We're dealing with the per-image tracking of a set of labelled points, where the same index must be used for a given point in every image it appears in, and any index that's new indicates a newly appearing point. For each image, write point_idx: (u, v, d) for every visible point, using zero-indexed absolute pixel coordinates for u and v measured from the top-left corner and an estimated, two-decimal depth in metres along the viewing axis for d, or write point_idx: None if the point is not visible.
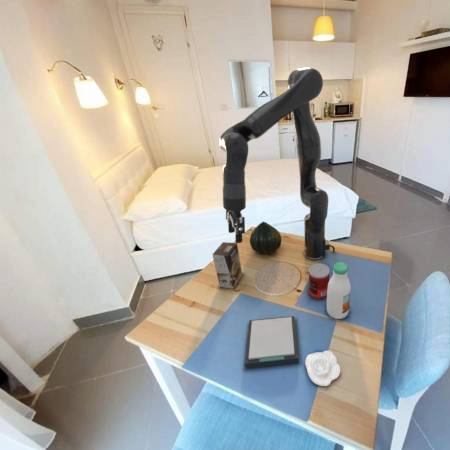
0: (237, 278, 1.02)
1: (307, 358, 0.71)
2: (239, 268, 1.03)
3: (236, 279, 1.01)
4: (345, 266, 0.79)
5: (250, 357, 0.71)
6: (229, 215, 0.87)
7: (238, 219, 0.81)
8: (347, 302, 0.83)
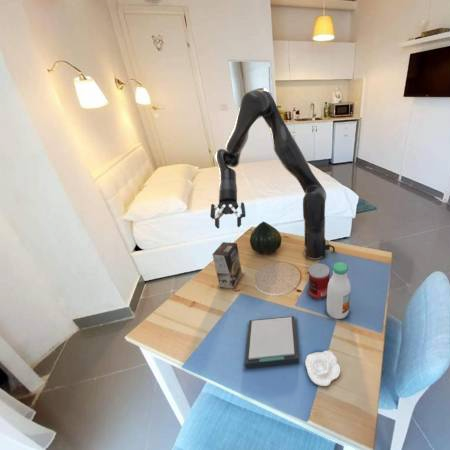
0: (237, 278, 1.02)
1: (307, 358, 0.71)
2: (239, 268, 1.03)
3: (236, 279, 1.01)
4: (345, 266, 0.79)
5: (250, 357, 0.71)
6: None
7: None
8: (347, 302, 0.83)
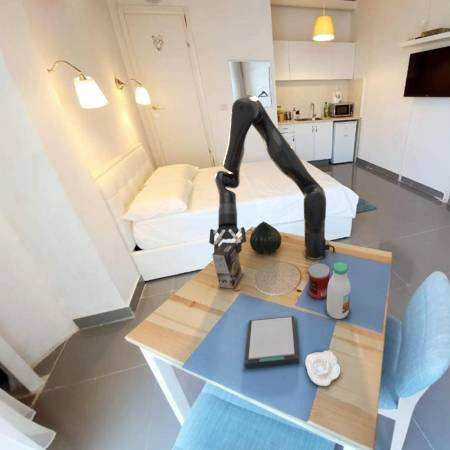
0: (237, 278, 1.02)
1: (307, 358, 0.71)
2: (239, 268, 1.03)
3: (236, 279, 1.01)
4: (345, 266, 0.79)
5: (250, 357, 0.71)
6: None
7: None
8: (347, 302, 0.83)
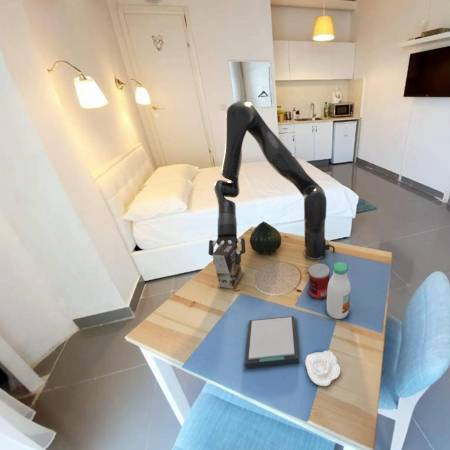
0: (237, 278, 1.02)
1: (307, 358, 0.71)
2: (239, 268, 1.03)
3: (236, 279, 1.01)
4: (345, 266, 0.79)
5: (250, 357, 0.71)
6: None
7: None
8: (347, 302, 0.83)
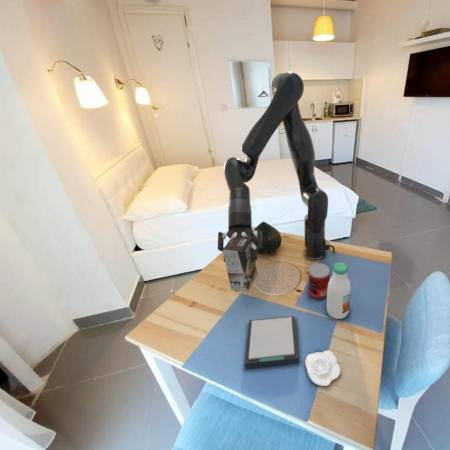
0: (252, 279, 0.83)
1: (307, 358, 0.71)
2: (254, 267, 0.84)
3: (251, 280, 0.82)
4: (345, 266, 0.79)
5: (250, 357, 0.71)
6: None
7: None
8: (347, 302, 0.83)
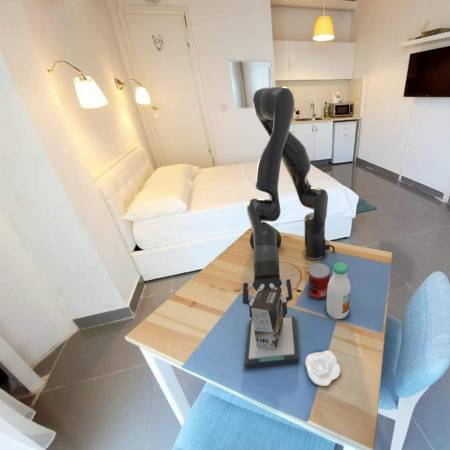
0: (280, 333, 0.75)
1: (307, 358, 0.71)
2: (281, 319, 0.76)
3: (279, 335, 0.74)
4: (345, 266, 0.79)
5: (250, 357, 0.71)
6: None
7: None
8: (347, 302, 0.83)
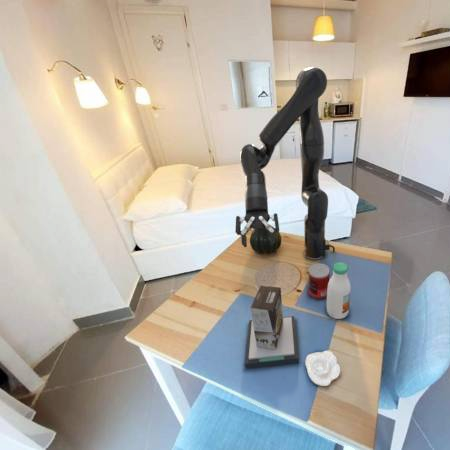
0: (279, 333, 0.75)
1: (307, 358, 0.71)
2: (281, 319, 0.76)
3: (279, 335, 0.74)
4: (345, 266, 0.79)
5: (250, 357, 0.71)
6: None
7: None
8: (347, 302, 0.83)
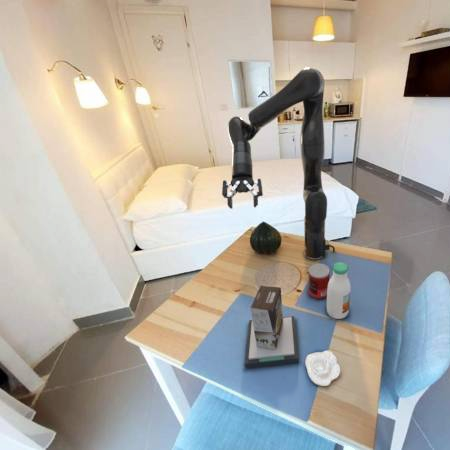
0: (279, 333, 0.75)
1: (307, 358, 0.71)
2: (281, 319, 0.76)
3: (279, 335, 0.74)
4: (345, 266, 0.79)
5: (250, 357, 0.71)
6: None
7: None
8: (347, 302, 0.83)
